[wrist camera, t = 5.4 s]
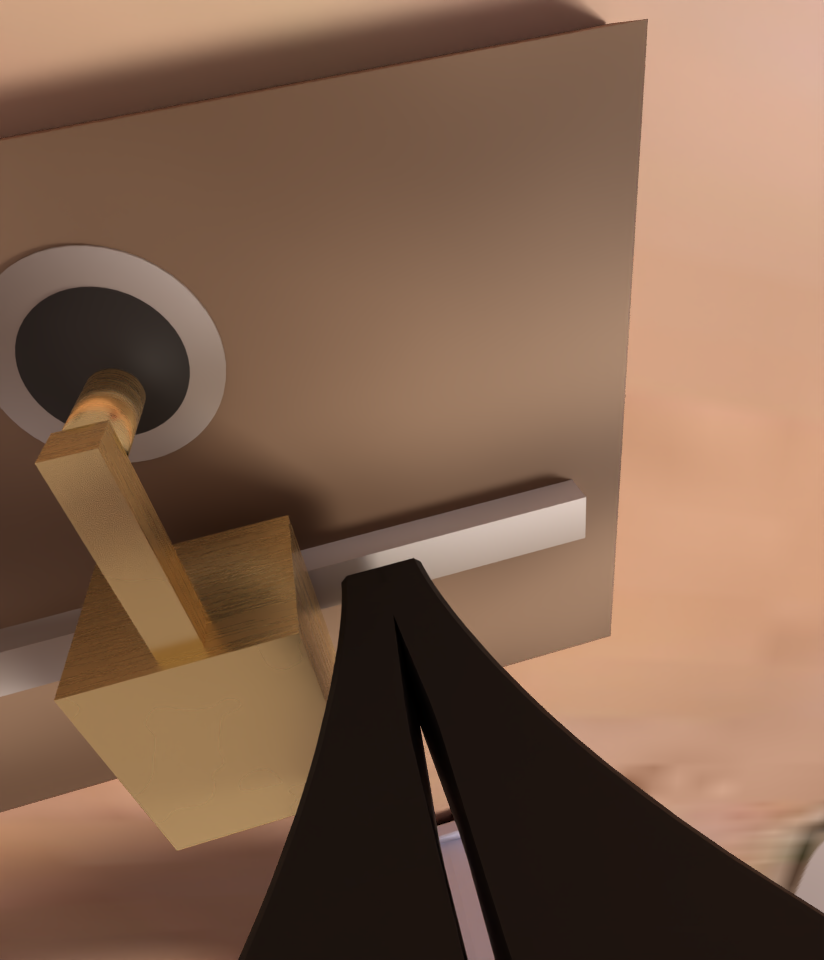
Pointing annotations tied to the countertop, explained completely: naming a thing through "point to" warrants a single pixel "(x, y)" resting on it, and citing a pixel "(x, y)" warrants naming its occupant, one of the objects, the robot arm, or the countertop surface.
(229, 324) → the gauge board
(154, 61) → the countertop surface
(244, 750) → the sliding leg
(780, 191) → the countertop surface
